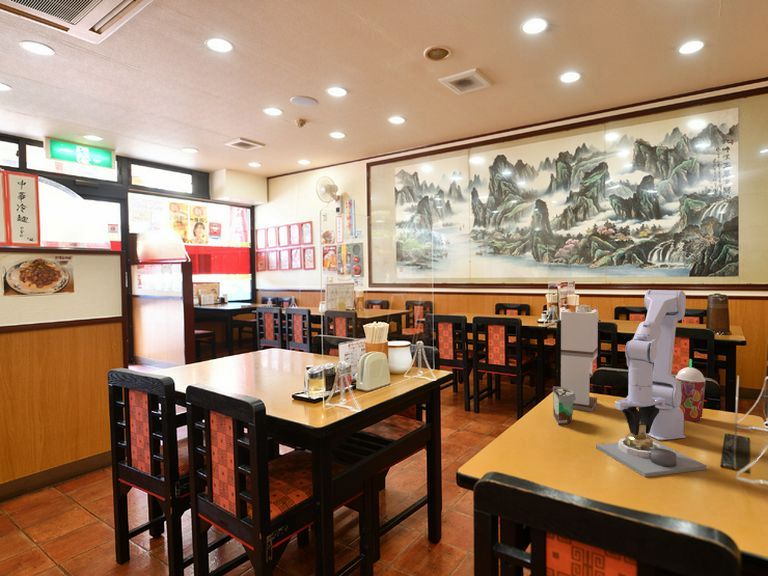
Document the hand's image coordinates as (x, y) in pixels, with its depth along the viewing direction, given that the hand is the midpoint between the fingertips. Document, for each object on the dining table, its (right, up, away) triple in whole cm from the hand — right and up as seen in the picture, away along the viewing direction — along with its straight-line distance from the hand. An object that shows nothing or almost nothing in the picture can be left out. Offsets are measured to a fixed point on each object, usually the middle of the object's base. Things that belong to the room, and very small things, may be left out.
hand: (639, 433), depth 122 cm
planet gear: (0, -3, 0) cm, 3 cm away
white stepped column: (+2, -4, +44) cm, 44 cm away
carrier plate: (+1, -6, -3) cm, 6 cm away
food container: (-9, -5, +27) cm, 29 cm away
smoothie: (+32, -4, +27) cm, 42 cm away
